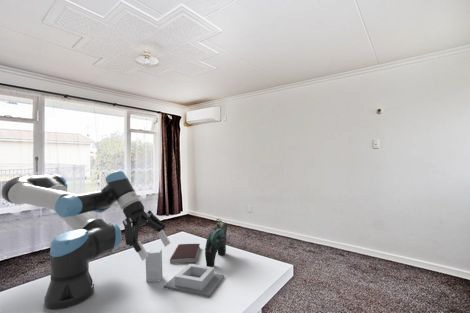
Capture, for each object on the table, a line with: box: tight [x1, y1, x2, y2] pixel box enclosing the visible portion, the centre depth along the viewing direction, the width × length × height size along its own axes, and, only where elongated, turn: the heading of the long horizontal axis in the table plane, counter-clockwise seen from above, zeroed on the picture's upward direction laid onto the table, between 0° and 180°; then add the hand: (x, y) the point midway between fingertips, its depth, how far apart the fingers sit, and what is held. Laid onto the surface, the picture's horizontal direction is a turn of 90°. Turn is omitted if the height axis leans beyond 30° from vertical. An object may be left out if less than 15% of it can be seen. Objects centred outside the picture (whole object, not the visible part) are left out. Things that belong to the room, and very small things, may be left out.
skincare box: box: [145, 248, 163, 283], centre depth 99 cm, size 6×4×12 cm
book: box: [169, 243, 201, 264], centre depth 123 cm, size 12×19×3 cm, turn 2°
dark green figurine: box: [204, 218, 228, 267], centre depth 117 cm, size 20×6×20 cm, turn 161°
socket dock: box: [163, 263, 226, 298], centre depth 96 cm, size 20×15×4 cm
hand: (157, 251), depth 90 cm, fingers open, 13 cm apart
